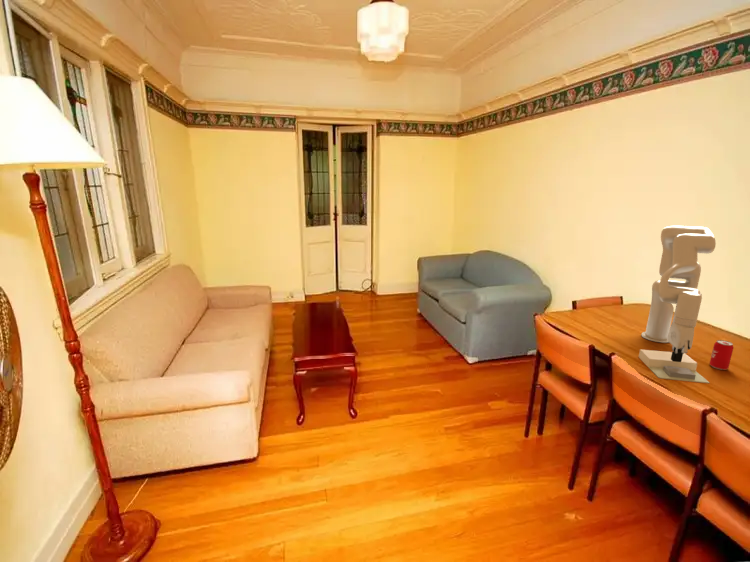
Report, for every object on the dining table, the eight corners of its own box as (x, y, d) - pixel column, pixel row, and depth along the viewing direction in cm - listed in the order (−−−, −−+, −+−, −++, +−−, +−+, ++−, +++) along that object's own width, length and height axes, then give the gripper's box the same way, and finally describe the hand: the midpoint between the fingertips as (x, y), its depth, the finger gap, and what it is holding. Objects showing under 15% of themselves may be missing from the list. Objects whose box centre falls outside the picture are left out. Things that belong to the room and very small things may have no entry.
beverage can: (718, 363, 167) (724, 339, 164) (731, 370, 161) (738, 345, 158) (705, 364, 167) (711, 339, 164) (718, 370, 161) (724, 345, 158)
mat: (648, 367, 165) (648, 366, 164) (696, 372, 160) (696, 371, 160) (658, 378, 156) (658, 377, 155) (709, 383, 151) (709, 382, 151)
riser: (638, 357, 174) (640, 349, 173) (683, 361, 170) (685, 353, 169) (648, 367, 165) (649, 358, 164) (695, 371, 161) (697, 363, 160)
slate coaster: (670, 372, 155) (669, 376, 156) (695, 375, 153) (694, 379, 153) (663, 365, 161) (662, 370, 161) (688, 368, 159) (687, 372, 159)
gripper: (665, 314, 163) (657, 352, 168) (683, 326, 149) (674, 368, 154) (685, 315, 161) (677, 354, 166) (705, 328, 147) (695, 370, 152)
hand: (675, 360), depth 160 cm, fingers closed
